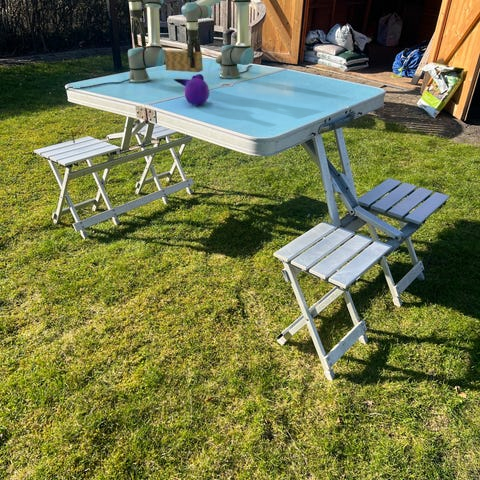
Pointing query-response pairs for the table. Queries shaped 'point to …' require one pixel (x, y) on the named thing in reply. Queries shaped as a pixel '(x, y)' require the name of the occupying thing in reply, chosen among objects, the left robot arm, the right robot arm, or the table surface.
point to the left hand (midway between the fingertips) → (140, 45)
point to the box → (183, 61)
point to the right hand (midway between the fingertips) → (195, 66)
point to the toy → (195, 89)
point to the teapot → (219, 60)
